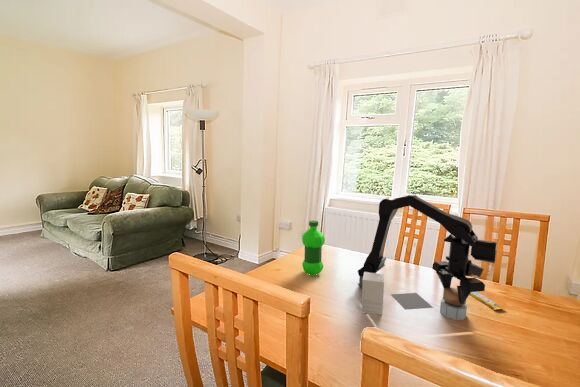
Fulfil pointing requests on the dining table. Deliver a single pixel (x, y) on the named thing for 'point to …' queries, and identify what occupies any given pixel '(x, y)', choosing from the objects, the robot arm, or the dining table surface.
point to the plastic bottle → (313, 249)
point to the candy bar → (485, 301)
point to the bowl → (453, 310)
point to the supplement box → (372, 293)
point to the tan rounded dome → (451, 296)
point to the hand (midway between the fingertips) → (454, 298)
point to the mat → (411, 301)
